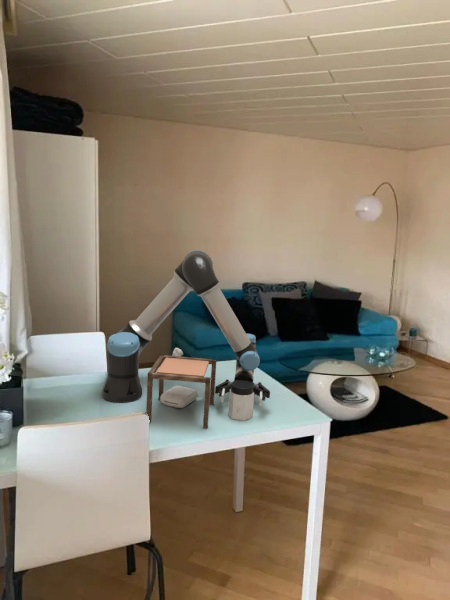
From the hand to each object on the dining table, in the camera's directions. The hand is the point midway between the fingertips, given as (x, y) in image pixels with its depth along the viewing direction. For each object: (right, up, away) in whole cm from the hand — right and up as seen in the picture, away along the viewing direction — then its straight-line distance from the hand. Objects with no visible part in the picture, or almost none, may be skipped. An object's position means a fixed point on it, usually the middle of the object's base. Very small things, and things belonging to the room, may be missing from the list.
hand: (241, 400), depth 170 cm
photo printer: (-21, 0, +17) cm, 27 cm away
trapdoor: (-20, +11, 0) cm, 23 cm away
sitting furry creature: (-28, +3, +42) cm, 51 cm away
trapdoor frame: (-21, -5, +4) cm, 22 cm away
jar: (0, -6, +4) cm, 8 cm away
